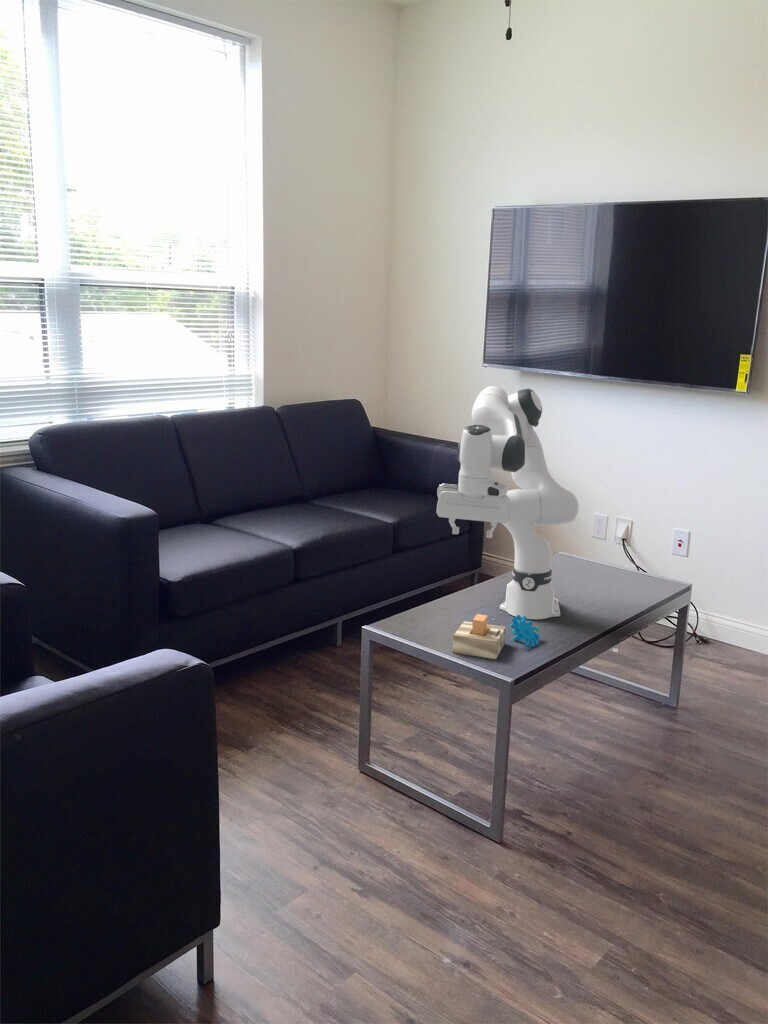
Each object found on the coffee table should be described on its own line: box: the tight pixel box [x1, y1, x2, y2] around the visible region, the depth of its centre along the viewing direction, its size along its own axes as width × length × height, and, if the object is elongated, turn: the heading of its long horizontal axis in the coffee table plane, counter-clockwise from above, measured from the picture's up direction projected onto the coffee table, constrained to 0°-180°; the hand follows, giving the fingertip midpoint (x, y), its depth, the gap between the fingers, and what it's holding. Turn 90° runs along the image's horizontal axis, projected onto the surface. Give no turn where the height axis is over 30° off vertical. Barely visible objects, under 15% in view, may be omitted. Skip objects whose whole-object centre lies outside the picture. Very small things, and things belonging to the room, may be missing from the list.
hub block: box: [452, 620, 507, 660], centre depth 239 cm, size 12×12×5 cm
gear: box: [510, 615, 541, 648], centre depth 245 cm, size 11×6×10 cm
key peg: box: [472, 613, 489, 636], centre depth 239 cm, size 3×5×9 cm, turn 161°
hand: (472, 535), depth 237 cm, fingers open, 8 cm apart
